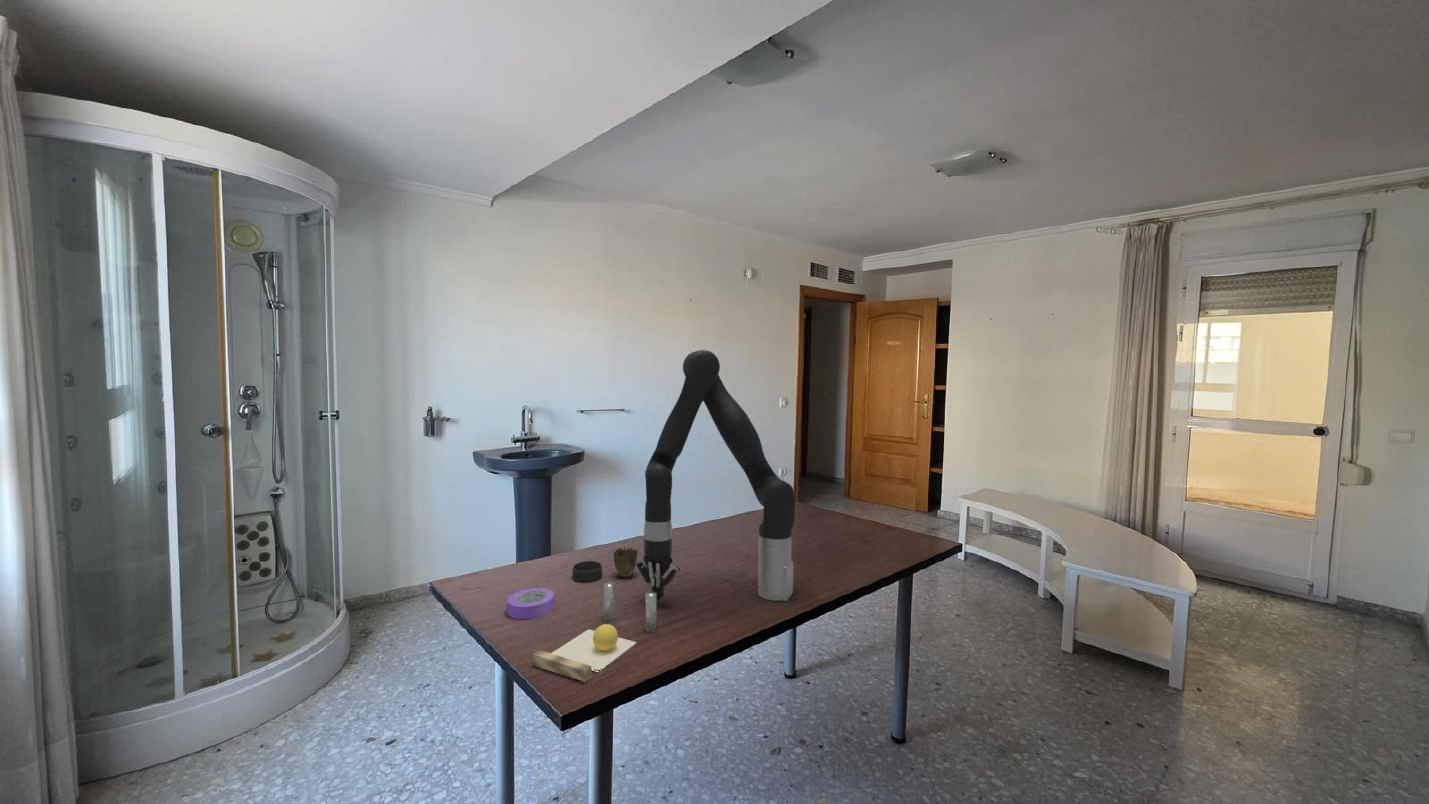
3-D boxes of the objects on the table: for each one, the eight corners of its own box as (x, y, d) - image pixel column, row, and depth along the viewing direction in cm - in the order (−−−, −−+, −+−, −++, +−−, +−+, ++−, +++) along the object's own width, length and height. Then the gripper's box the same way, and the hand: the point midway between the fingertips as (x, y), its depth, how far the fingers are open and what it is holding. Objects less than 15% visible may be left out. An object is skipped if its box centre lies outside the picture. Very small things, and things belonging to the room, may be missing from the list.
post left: (616, 618, 132) (616, 583, 132) (609, 622, 129) (610, 586, 129) (608, 616, 133) (608, 581, 133) (601, 620, 131) (601, 585, 130)
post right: (658, 628, 126) (658, 592, 126) (652, 633, 124) (652, 596, 124) (649, 626, 127) (649, 590, 127) (643, 630, 125) (643, 594, 125)
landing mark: (636, 643, 119) (636, 642, 119) (597, 673, 106) (597, 672, 106) (588, 630, 125) (588, 629, 125) (546, 657, 113) (546, 656, 113)
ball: (607, 643, 112) (614, 658, 114) (618, 620, 116) (624, 635, 119) (585, 639, 113) (592, 654, 116) (596, 617, 118) (603, 632, 120)
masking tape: (535, 623, 129) (535, 608, 129) (497, 617, 132) (497, 602, 132) (562, 604, 140) (562, 590, 140) (526, 599, 144) (526, 585, 143)
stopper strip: (591, 678, 105) (591, 666, 105) (584, 683, 103) (584, 671, 103) (539, 661, 111) (539, 650, 111) (532, 666, 109) (532, 654, 109)
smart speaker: (599, 583, 156) (599, 570, 155) (569, 583, 155) (569, 570, 155) (603, 572, 164) (603, 560, 164) (575, 573, 164) (575, 560, 164)
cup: (632, 581, 156) (632, 555, 156) (609, 579, 158) (609, 553, 157) (640, 573, 163) (640, 548, 163) (618, 571, 165) (619, 546, 165)
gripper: (686, 535, 140) (685, 598, 141) (645, 529, 146) (644, 590, 146) (672, 543, 133) (671, 609, 134) (629, 536, 139) (629, 599, 140)
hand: (657, 599), depth 140 cm, fingers closed
